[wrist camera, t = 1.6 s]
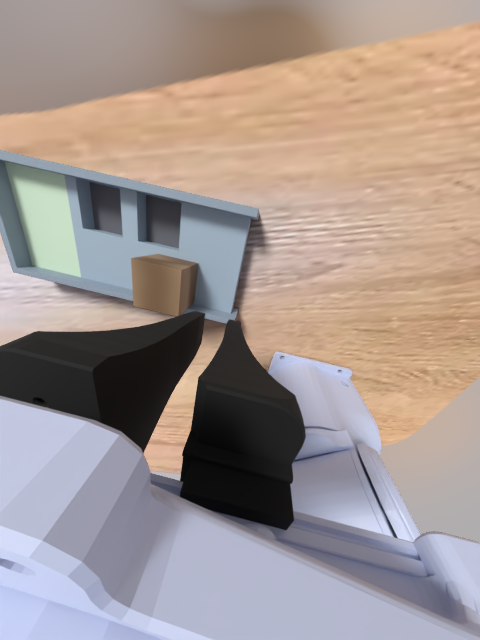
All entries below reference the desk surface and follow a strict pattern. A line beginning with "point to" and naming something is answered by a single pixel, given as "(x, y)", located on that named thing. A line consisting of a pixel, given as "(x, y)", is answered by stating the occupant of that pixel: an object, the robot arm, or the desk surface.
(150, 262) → the block
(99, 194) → the box
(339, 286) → the desk surface
